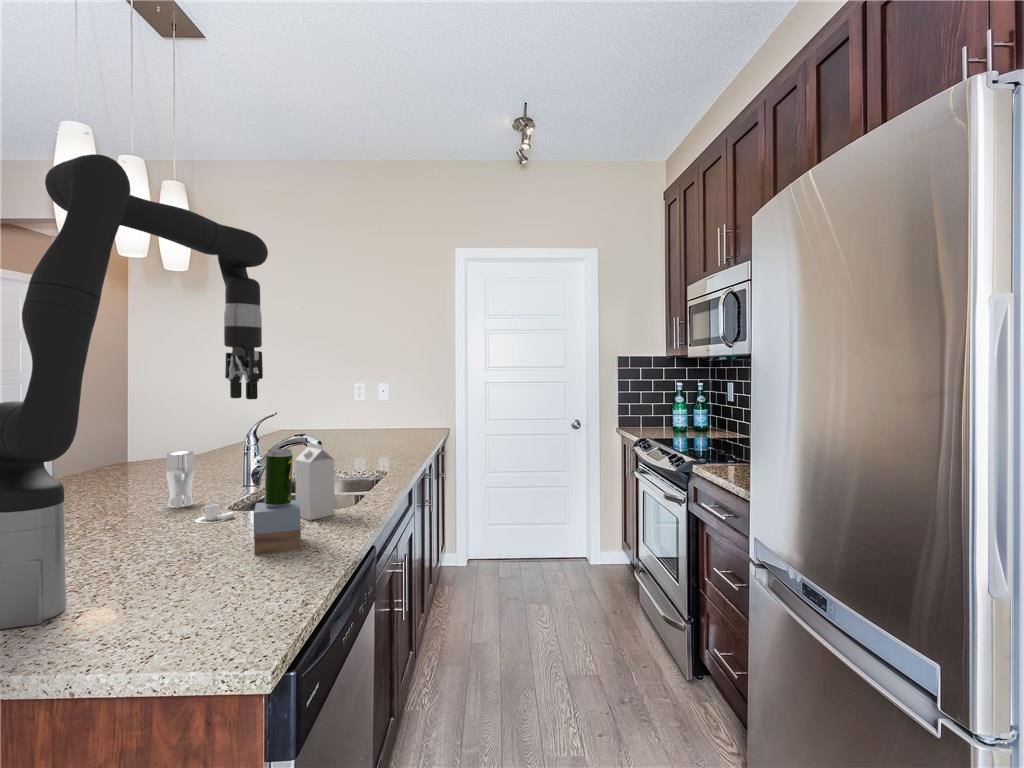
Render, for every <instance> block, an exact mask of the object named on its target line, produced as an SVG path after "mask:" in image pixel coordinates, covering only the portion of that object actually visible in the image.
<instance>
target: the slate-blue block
mask: <svg viewBox="0 0 1024 768" xmlns="http://www.w3.org/2000/svg"><path fill="white" fill-rule="evenodd" d="M300 527H301V517H300V501H299V500H296V499H291V503H290V505H289V506H286V507H281V508H270V507H267V506H266V505H265V501H264V502H255V506H254V510H253V535H254V534H261V533H271V532H282V531H293V530H300Z"/></svg>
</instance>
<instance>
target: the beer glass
mask: <svg viewBox="0 0 1024 768" xmlns="http://www.w3.org/2000/svg"><path fill="white" fill-rule="evenodd" d="M194 455H195V454H194V451H191V450H190V451H188V450H187V451H185V450H184V451H172V452H168V453H166V459H165V460H166V461H165V475H166V480H167V485H168V490H169V499H168V504H167V507H168V508H171V509H179V508H186V507H187V508H188V507H191V506H193V505H194V503H193V496H192V487H193V482H194V476H195V456H194Z"/></svg>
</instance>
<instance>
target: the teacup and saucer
mask: <svg viewBox="0 0 1024 768" xmlns="http://www.w3.org/2000/svg"><path fill="white" fill-rule="evenodd" d="M203 509H204V510H205V511H204V512H205V514H204V512H203ZM219 511H220V504H218V503H209V504H206V505H205V506H202V507H201V509H200V512H201V514H202V516H201V517H198V518H196V519H195V520H194V522H195V523H197V524H205V525H206V524H214V523H216V524H217V523H220V522H225V521H227V520H229V519H232V518H234V517H235V512H234V511H229V512H224V513H221V514H219ZM204 519H206V520H207V521H208V522H207V521H206V522H205V521H202V520H204ZM216 520H217V521H216ZM211 521H212V522H211Z"/></svg>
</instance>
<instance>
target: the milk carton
mask: <svg viewBox="0 0 1024 768" xmlns="http://www.w3.org/2000/svg"><path fill="white" fill-rule="evenodd" d="M323 447H324V445H322V444H317V443H309V442H307V444H306V448H305V449H304V450H302V452H300V454H299V455H298V456H297V457H296V458H295V500H299V501H300V519H304V520H308V521H312V520H313V521H314V520H317V519H323V518H326V517H331V516H335V458H333V457H332V456H331V455H330V454H329V453H328V452H326V451H325V450H324V449H323Z"/></svg>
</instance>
